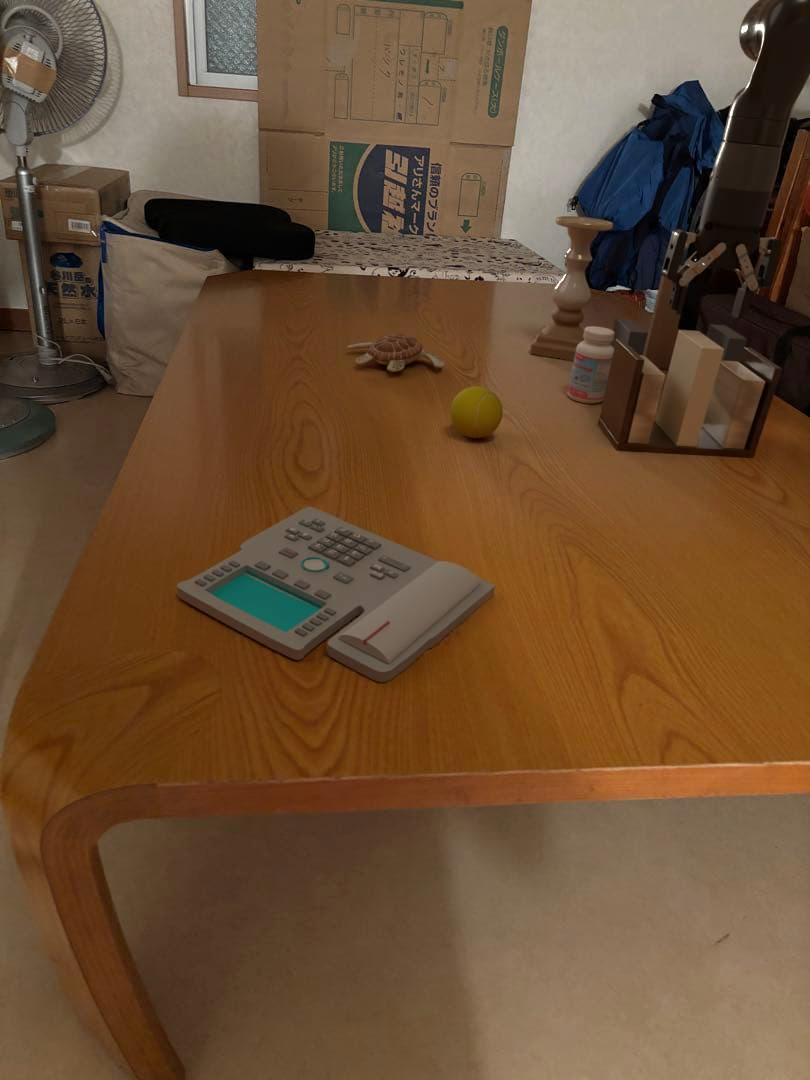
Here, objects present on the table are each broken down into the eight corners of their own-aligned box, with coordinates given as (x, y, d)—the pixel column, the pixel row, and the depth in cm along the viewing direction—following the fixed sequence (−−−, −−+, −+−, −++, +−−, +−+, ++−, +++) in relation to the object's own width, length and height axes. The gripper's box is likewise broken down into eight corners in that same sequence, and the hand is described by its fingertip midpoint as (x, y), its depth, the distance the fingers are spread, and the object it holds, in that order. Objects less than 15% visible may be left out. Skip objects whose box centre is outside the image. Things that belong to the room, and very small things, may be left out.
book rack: (725, 431, 119) (750, 347, 112) (753, 457, 110) (782, 368, 103) (597, 424, 117) (616, 338, 111) (616, 450, 108) (637, 359, 102)
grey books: (710, 379, 142) (725, 325, 137) (730, 396, 134) (747, 339, 129) (603, 373, 140) (615, 317, 135) (617, 389, 132) (630, 331, 127)
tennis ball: (438, 432, 109) (443, 384, 106) (473, 423, 113) (479, 377, 110) (473, 449, 105) (479, 400, 101) (508, 439, 109) (515, 391, 105)
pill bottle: (559, 393, 128) (571, 325, 122) (588, 390, 131) (601, 324, 125) (582, 406, 123) (596, 336, 118) (612, 402, 126) (627, 334, 120)
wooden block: (689, 366, 148) (715, 269, 139) (691, 373, 144) (718, 273, 135) (641, 360, 149) (664, 263, 140) (642, 367, 146) (665, 267, 137)
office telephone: (499, 572, 73) (376, 679, 58) (495, 595, 74) (374, 706, 60) (309, 494, 83) (163, 569, 69) (308, 515, 85) (165, 593, 70)
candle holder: (529, 354, 147) (550, 219, 135) (537, 340, 156) (558, 213, 144) (586, 363, 145) (613, 227, 133) (592, 348, 154) (617, 220, 142)
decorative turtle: (459, 361, 140) (463, 334, 137) (423, 385, 126) (425, 355, 124) (370, 342, 146) (371, 316, 143) (326, 364, 132) (326, 335, 130)
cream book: (674, 423, 117) (699, 330, 110) (696, 446, 109) (724, 349, 102) (655, 422, 117) (678, 329, 110) (676, 445, 109) (702, 347, 102)
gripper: (696, 183, 93) (664, 319, 101) (810, 192, 94) (769, 326, 102) (675, 177, 99) (646, 305, 107) (781, 185, 100) (745, 312, 108)
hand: (706, 315), depth 105 cm, fingers open, 8 cm apart
